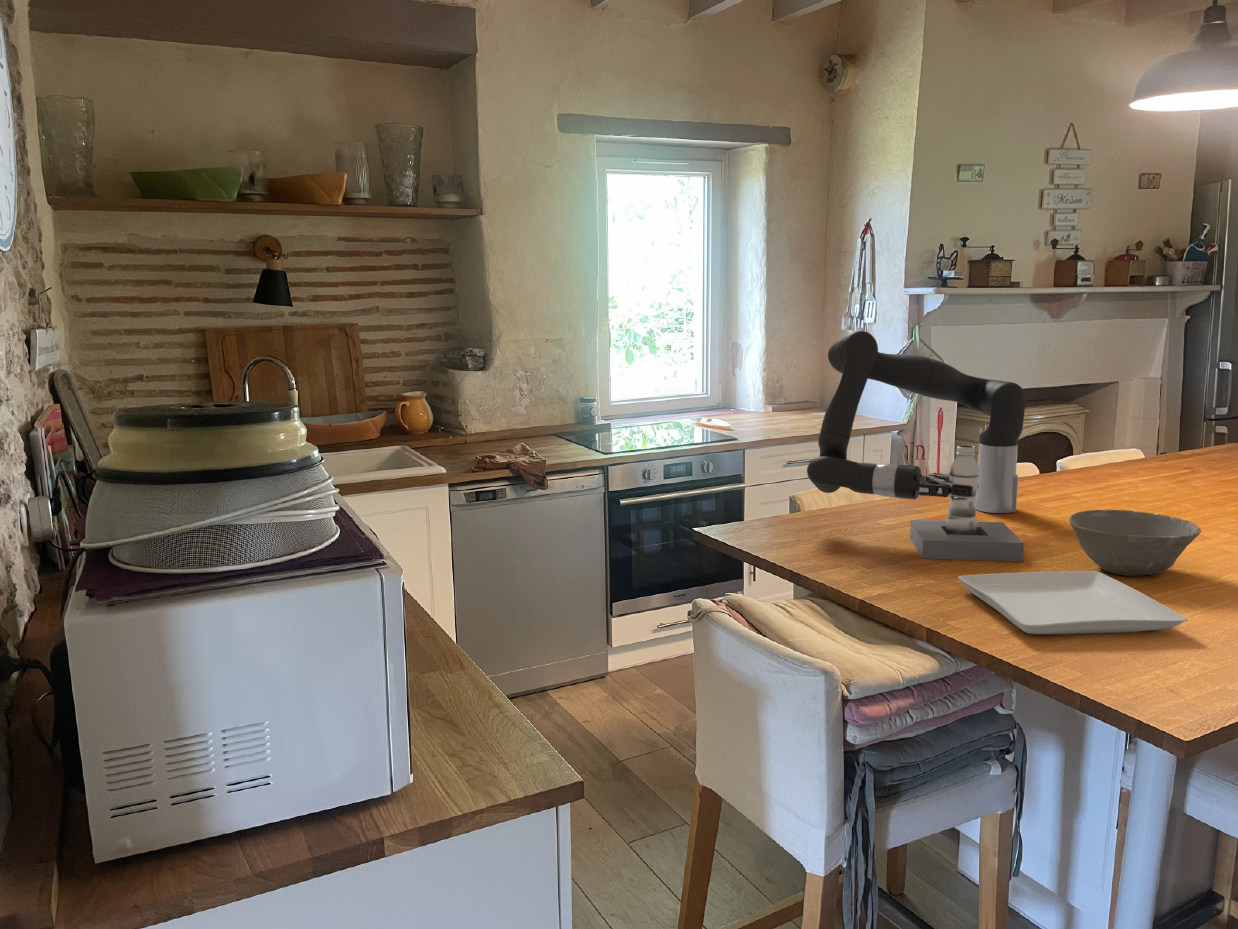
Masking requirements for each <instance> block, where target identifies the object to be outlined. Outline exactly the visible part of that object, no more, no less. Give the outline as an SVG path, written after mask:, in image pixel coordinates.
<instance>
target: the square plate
mask: <svg viewBox="0 0 1238 929" xmlns="http://www.w3.org/2000/svg"><path fill="white" fill-rule="evenodd" d="M957 579H958V580H959V581H960V582H961V583H962V585H964V587H965V588H966V589H967V590H969V592H971V593H972V594H973V595H974V596H976V597H978V599H980V600H982V601H983V602H984V603H986V604H987V605H989V606H990V607H992V608H993V609H995V611H997V612H999V614H1001V615H1002V616H1004V618H1006V619H1007V620H1008V621H1010V622H1011V623H1012V624H1013V625H1014V626H1016V627H1017V628H1018V629H1020V630H1021V631H1023V633H1027V634H1029V635H1075V634H1106V633H1108V634H1109V633H1111V634H1112V633H1113V634H1114V633H1116V634H1117V633H1136V632H1137V633H1139V632H1144V631H1146V632H1147V631H1162V630H1167V629H1172V628H1174V627H1175V628H1176V627H1177V626H1179V625H1181V624H1182V623H1184V622H1188V618H1187V617H1185V616H1184V615H1182V614H1180V613H1179V612H1176V611H1175V610H1174V609H1171V608H1169V607H1168V606H1166V605H1164V604H1162V603H1161V602H1159V601H1157V600H1155V599H1153V598H1152V597H1150V596H1148V595H1147V594H1145V593H1142V592H1140V591H1139V590H1137V589H1135V588H1133V587H1131V586H1129V585H1127V584H1125V583H1123V582H1122V581H1119V580H1117V579H1115V578H1113V577H1110V576H1108V575H1106V574H1104V573H1103V572H1100V571H1096V570H1085V571H1083V570H1081V571H1080V570H1078V571H1074V570H1072V571H1070V570H1069V571H1025V572H1024V571H1021V572H1019V571H1018V572H1000V573H997V572H996V573H984V574H968V575H967V574H966V575H958V576H957Z"/></svg>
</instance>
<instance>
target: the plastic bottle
mask: <svg viewBox="0 0 1238 929" xmlns="http://www.w3.org/2000/svg"><path fill="white" fill-rule="evenodd" d="M975 447H976V446H974V445H969V444H959V445H957V446H956V452H955V454H956V455H957V456H956V457H955V459H954V460H953V462H951V464H950V466H949V469H948V475H949V477H950V483H952V484H958V485H969V486H972V487H973V492H972V495H971V496H961V495H954V494H953V495H952V496H949V505H948V506H949V507H948V512H947V516H946V520H945V521H946V530H947V531H948V533H949V534H950V535H974V534H975V532H976V529H977V522H978V520H977V509H976V493H977V486H978V481H979V476H980V468H979V466H978V461H976V460H975V458H974V456H975V455H976V453H975V451H976V450H975ZM953 486H954V485H953Z"/></svg>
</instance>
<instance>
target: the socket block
mask: <svg viewBox="0 0 1238 929" xmlns="http://www.w3.org/2000/svg"><path fill="white" fill-rule="evenodd" d="M909 529H910V531H909V534H910V535H909V537H910V539H911V541H912V542H913V544H914V546H915V548H916V550H917V552H918V554H919V555H920V557H921V559H929V560H959V561H961V560H962V561H991V562H992V561H993V562H1023V556H1024V554H1023V553H1024V544H1025V543H1024V541H1022V540H1021V539H1020V538H1019V537H1018V536H1017V535H1016V534H1015V533H1014V532H1013V531H1012V530H1011V529H1010V528H1009V527H1008V526H1007V525H1006V524H1005V523H1004V522H1003V521H977V529H976V532H975V534H974V535H950V534H949V533H948V531H947V530H946V520H934V519H933V520H930V519H929V520H927V519H910V528H909Z"/></svg>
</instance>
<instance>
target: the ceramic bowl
mask: <svg viewBox="0 0 1238 929" xmlns="http://www.w3.org/2000/svg"><path fill="white" fill-rule="evenodd" d="M1068 522H1069V524H1070V526H1071V527H1072V529H1073V531H1074V534H1075V537H1076V539H1077V541H1078V543H1079V546H1080V548H1081V550H1083V552H1084V553H1085V554H1086V556H1088V558H1089V559H1091V561H1093V562H1094V564H1095V565H1097V566H1098V567H1099V568H1101V569H1102V570H1103V571H1105V572H1108V573H1111V574H1114V575H1117V576H1119V575H1120V576H1125V577H1135V576H1136V577H1138V576H1142V577H1143V576H1150V575H1157V574H1159V573H1162V572H1165V571H1167V570H1168V569H1170V568H1171V567H1173V566H1174V564H1175V562H1176V561H1177V559H1178V558H1179V557H1180V556H1181V554H1182V553H1183V552H1184V551H1185V550H1186V548H1187V547H1188V546H1189V545H1190V544H1191V543H1192V542H1194V541H1195V539H1196V538H1197V537H1198V536H1200V534H1201V533H1202V529H1201V528H1200V527H1199V525H1197V524H1196V523H1194V522H1191V521H1189V520H1185V519H1183V518H1179V517H1175V516H1172V517H1171V516H1170V515H1168V514H1167V515H1166V514H1165V515H1164V514H1161V513H1156V514H1155V513H1151V512H1145V511H1134V510H1130V509H1129V510H1127V509H1089V510H1083V511H1078V512H1076V513H1073V514H1071V515H1070V516H1069V518H1068Z"/></svg>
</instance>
